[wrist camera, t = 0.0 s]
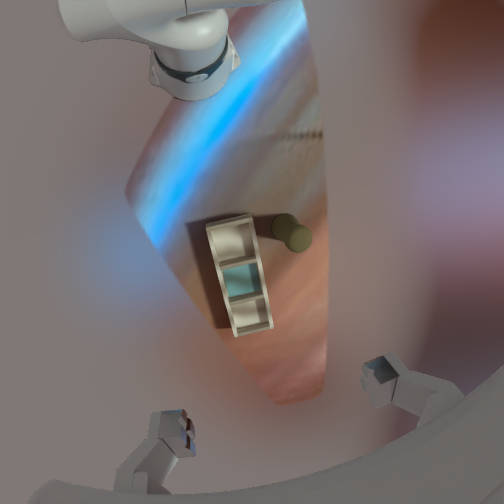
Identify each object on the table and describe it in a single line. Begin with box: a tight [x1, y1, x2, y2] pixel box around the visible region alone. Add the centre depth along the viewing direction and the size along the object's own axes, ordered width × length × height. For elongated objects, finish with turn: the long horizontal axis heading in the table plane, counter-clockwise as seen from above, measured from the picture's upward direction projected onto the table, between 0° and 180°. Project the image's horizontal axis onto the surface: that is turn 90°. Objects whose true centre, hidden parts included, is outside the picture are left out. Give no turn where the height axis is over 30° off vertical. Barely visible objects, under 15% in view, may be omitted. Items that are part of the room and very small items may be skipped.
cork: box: [271, 213, 312, 253], centre depth 54 cm, size 6×6×11 cm
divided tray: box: [206, 214, 274, 337], centre depth 59 cm, size 26×9×4 cm, turn 11°
